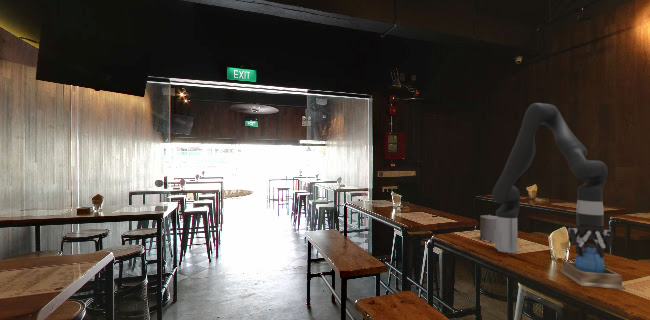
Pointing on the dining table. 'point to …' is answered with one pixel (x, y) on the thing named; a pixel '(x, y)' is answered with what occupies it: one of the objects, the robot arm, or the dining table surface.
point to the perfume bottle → (590, 260)
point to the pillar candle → (487, 227)
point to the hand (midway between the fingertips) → (589, 256)
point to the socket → (593, 277)
